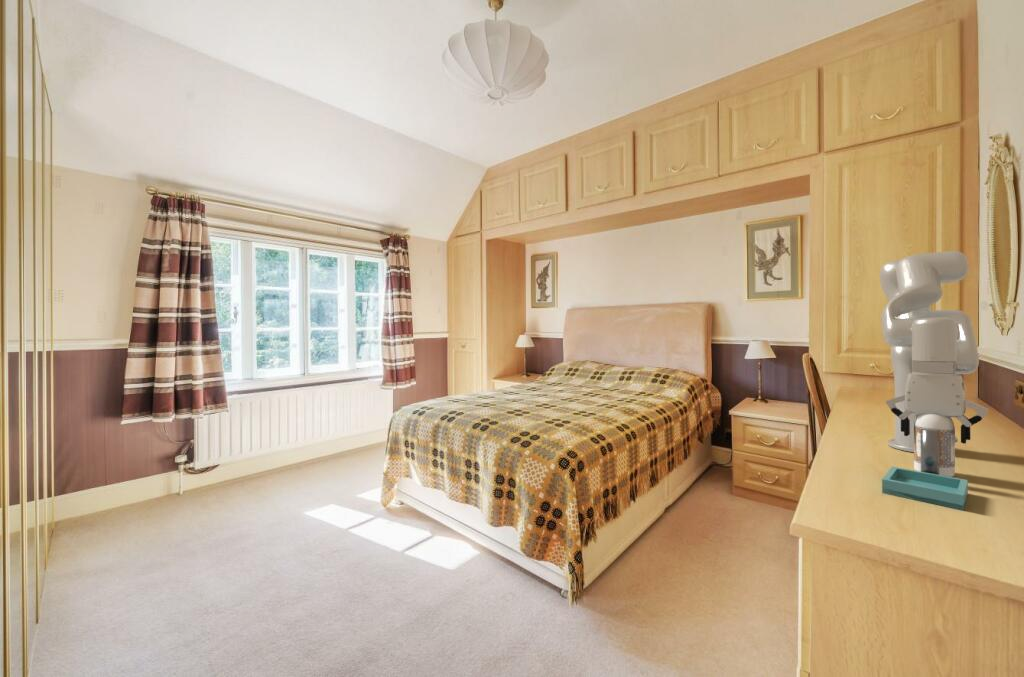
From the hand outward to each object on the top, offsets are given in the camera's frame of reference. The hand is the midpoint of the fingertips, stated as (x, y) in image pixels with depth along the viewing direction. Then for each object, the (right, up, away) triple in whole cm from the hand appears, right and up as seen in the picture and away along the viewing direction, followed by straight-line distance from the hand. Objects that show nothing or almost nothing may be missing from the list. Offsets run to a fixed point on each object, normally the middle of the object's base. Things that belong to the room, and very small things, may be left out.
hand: (934, 438), depth 99 cm
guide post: (-6, -9, -4) cm, 11 cm away
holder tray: (-13, -9, -11) cm, 20 cm away
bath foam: (0, -9, +1) cm, 9 cm away
